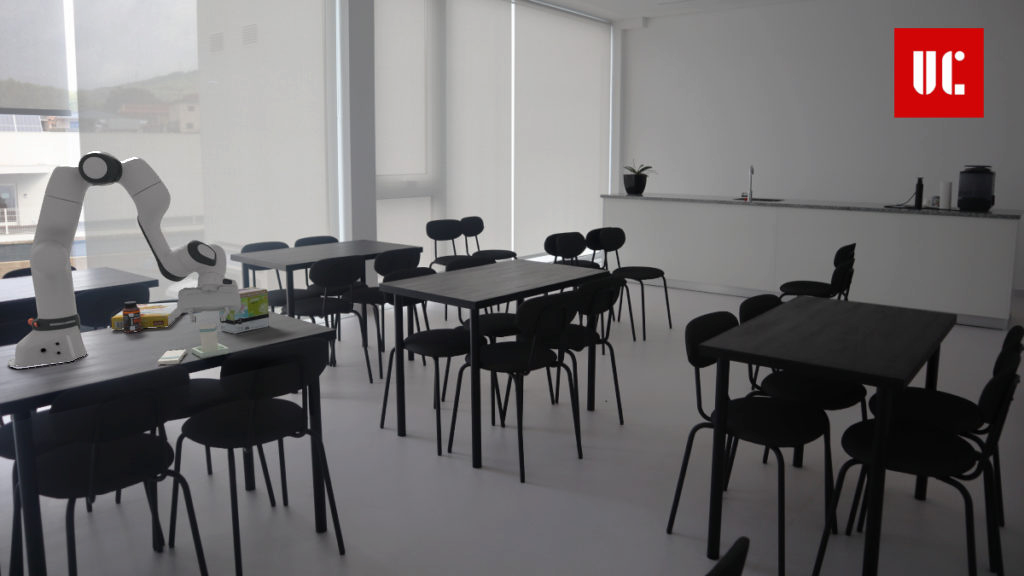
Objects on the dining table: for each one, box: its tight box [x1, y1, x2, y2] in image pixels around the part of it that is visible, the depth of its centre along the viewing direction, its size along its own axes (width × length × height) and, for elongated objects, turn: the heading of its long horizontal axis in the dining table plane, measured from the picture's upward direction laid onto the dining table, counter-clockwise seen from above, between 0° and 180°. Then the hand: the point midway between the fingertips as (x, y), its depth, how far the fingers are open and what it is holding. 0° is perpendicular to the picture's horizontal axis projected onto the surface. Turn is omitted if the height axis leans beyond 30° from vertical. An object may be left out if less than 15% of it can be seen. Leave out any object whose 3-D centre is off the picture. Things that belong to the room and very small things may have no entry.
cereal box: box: [110, 301, 183, 330], centre depth 307 cm, size 20×6×28 cm
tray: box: [191, 342, 230, 359], centre depth 257 cm, size 9×9×2 cm
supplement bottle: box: [121, 300, 143, 333], centre depth 289 cm, size 6×6×11 cm
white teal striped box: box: [199, 323, 219, 352], centre depth 256 cm, size 5×4×9 cm
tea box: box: [218, 286, 270, 335], centre depth 290 cm, size 15×10×15 cm, turn 143°
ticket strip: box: [157, 348, 187, 366], centre depth 251 cm, size 6×13×1 cm, turn 11°
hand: (208, 320), depth 258 cm, fingers open, 8 cm apart
